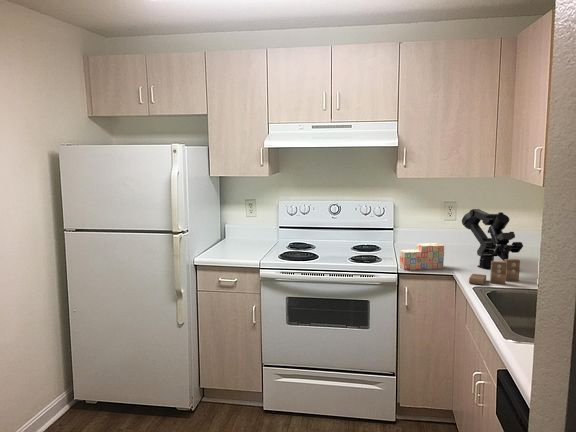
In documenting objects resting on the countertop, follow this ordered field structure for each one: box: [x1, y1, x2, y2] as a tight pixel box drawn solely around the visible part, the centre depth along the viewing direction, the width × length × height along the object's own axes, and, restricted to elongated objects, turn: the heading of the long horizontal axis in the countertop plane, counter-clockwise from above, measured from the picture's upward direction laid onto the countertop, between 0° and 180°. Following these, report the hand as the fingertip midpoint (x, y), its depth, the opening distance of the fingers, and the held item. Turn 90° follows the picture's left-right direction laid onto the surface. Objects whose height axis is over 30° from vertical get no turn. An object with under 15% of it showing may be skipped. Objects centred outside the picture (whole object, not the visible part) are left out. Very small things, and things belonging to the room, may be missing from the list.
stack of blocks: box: [399, 242, 445, 271], centre depth 248 cm, size 21×6×12 cm, turn 99°
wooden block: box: [468, 273, 487, 286], centre depth 222 cm, size 3×6×10 cm
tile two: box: [505, 258, 521, 282], centre depth 223 cm, size 3×6×10 cm, turn 93°
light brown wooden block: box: [489, 260, 506, 285], centre depth 219 cm, size 3×6×10 cm, turn 77°
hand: (507, 262), depth 228 cm, fingers closed
